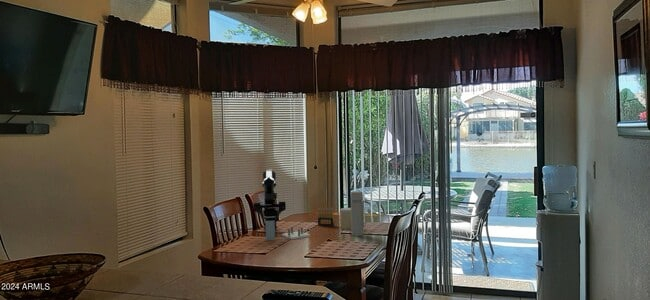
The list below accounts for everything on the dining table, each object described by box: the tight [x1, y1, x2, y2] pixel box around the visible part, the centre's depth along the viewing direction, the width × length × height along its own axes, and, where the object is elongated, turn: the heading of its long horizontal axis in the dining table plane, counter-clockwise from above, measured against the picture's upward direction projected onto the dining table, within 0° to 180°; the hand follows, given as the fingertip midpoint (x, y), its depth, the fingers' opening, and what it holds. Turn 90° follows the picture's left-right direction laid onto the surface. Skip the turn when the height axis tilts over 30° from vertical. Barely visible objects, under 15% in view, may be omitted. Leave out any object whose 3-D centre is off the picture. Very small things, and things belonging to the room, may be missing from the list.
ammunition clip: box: [317, 206, 335, 227], centre depth 310 cm, size 11×2×12 cm, turn 69°
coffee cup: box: [339, 207, 351, 230], centre depth 299 cm, size 9×9×12 cm
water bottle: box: [350, 190, 367, 237], centre depth 277 cm, size 9×8×25 cm
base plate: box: [281, 226, 311, 240], centre depth 279 cm, size 12×12×5 cm
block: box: [265, 221, 276, 241], centre depth 273 cm, size 5×5×10 cm
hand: (270, 218), depth 277 cm, fingers open, 9 cm apart
